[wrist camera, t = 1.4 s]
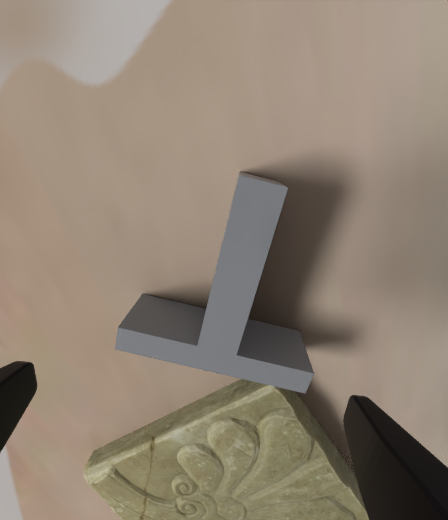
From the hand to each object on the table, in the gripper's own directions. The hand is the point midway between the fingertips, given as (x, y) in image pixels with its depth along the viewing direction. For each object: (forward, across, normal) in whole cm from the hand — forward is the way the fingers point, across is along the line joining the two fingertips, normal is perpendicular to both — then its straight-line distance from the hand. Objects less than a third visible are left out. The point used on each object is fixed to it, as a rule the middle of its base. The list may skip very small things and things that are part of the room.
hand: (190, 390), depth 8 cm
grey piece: (+12, -1, 0) cm, 12 cm away
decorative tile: (+13, -3, +22) cm, 26 cm away
